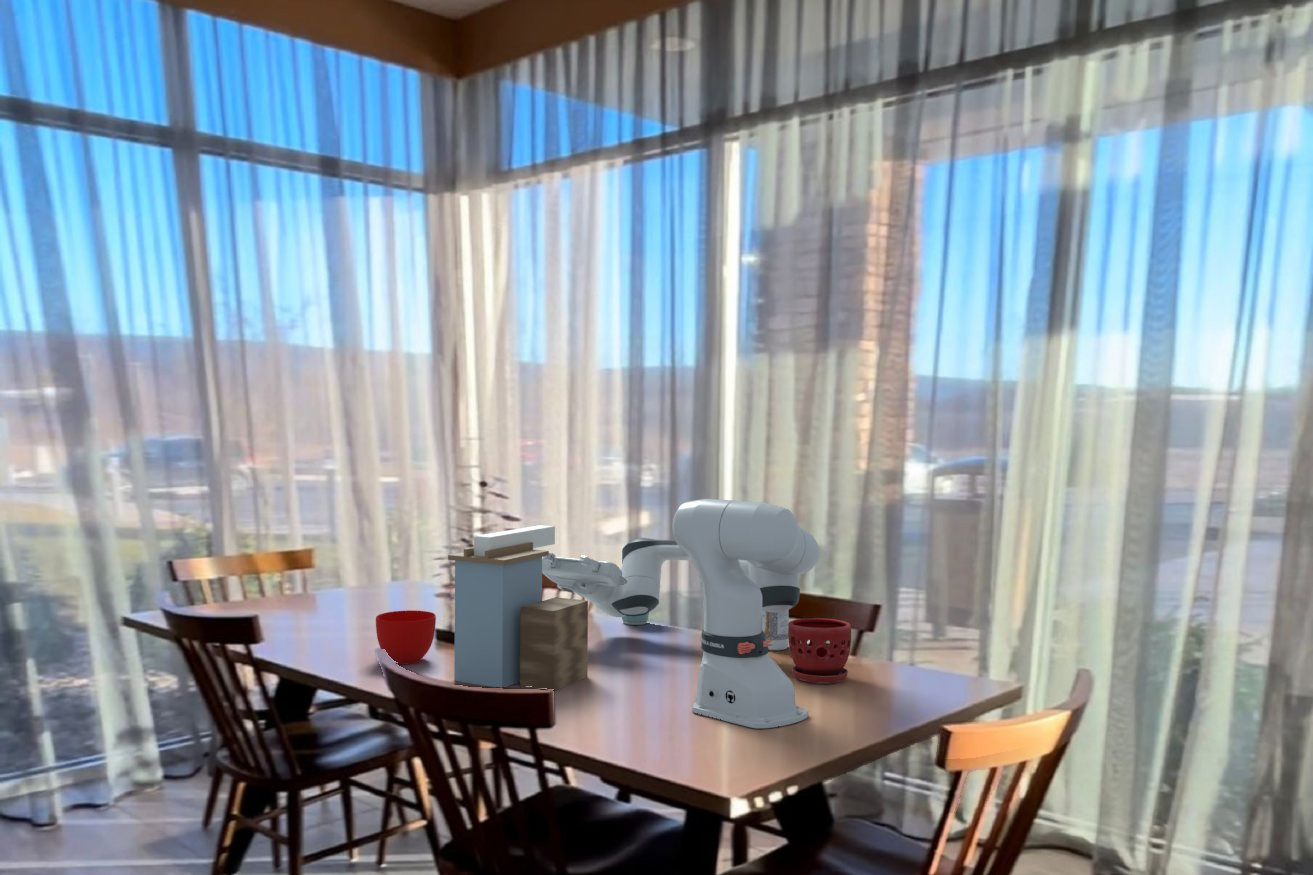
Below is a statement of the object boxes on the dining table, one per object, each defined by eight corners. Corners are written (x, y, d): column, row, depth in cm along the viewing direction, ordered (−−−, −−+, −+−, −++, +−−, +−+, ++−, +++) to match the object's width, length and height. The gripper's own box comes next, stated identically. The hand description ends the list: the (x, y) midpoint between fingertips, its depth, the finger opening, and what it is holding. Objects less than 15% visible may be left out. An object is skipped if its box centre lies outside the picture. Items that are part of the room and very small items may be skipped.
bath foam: (754, 645, 244) (755, 562, 244) (780, 643, 246) (781, 561, 246) (765, 651, 237) (766, 566, 237) (792, 649, 239) (794, 565, 239)
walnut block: (555, 671, 217) (555, 597, 217) (587, 676, 213) (587, 600, 213) (520, 685, 206) (520, 607, 205) (553, 691, 202) (553, 611, 201)
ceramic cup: (414, 648, 238) (414, 605, 238) (445, 662, 224) (445, 617, 224) (360, 655, 230) (360, 611, 230) (388, 670, 216) (389, 624, 216)
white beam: (539, 542, 229) (540, 525, 229) (554, 543, 227) (554, 526, 227) (473, 555, 208) (473, 536, 207) (489, 556, 206) (489, 537, 206)
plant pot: (863, 679, 213) (864, 622, 213) (824, 690, 205) (825, 631, 204) (813, 667, 223) (814, 613, 223) (774, 677, 214) (775, 621, 214)
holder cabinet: (494, 664, 223) (495, 539, 222) (547, 672, 216) (548, 543, 216) (447, 681, 209) (448, 547, 208) (503, 690, 202) (504, 552, 202)
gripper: (626, 596, 237) (600, 573, 226) (554, 588, 247) (525, 566, 236) (633, 571, 240) (607, 548, 229) (561, 564, 250) (533, 541, 239)
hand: (565, 557), depth 233 cm, fingers open, 8 cm apart
